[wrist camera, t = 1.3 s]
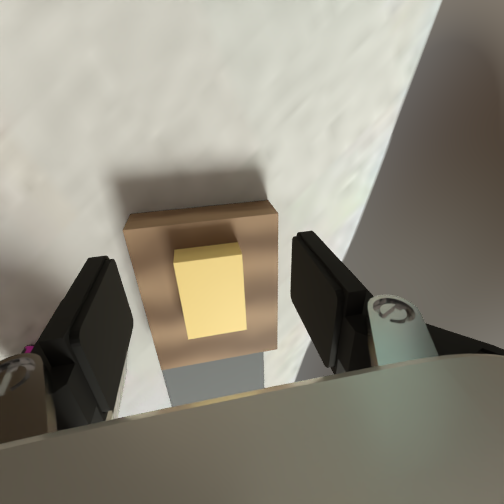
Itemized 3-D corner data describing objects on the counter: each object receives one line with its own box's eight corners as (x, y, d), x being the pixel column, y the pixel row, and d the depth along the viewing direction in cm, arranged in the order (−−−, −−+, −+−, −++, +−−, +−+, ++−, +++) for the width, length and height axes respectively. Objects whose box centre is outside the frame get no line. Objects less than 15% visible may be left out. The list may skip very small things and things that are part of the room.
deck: (130, 214, 29) (122, 230, 25) (267, 200, 31) (278, 213, 27) (163, 344, 37) (161, 370, 34) (269, 326, 39) (277, 349, 36)
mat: (156, 346, 37) (155, 347, 37) (262, 328, 39) (262, 329, 39) (174, 412, 44) (174, 414, 44) (263, 393, 46) (264, 395, 46)
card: (174, 249, 27) (173, 263, 25) (237, 242, 28) (242, 254, 26) (188, 322, 31) (188, 339, 29) (242, 313, 32) (246, 329, 30)
